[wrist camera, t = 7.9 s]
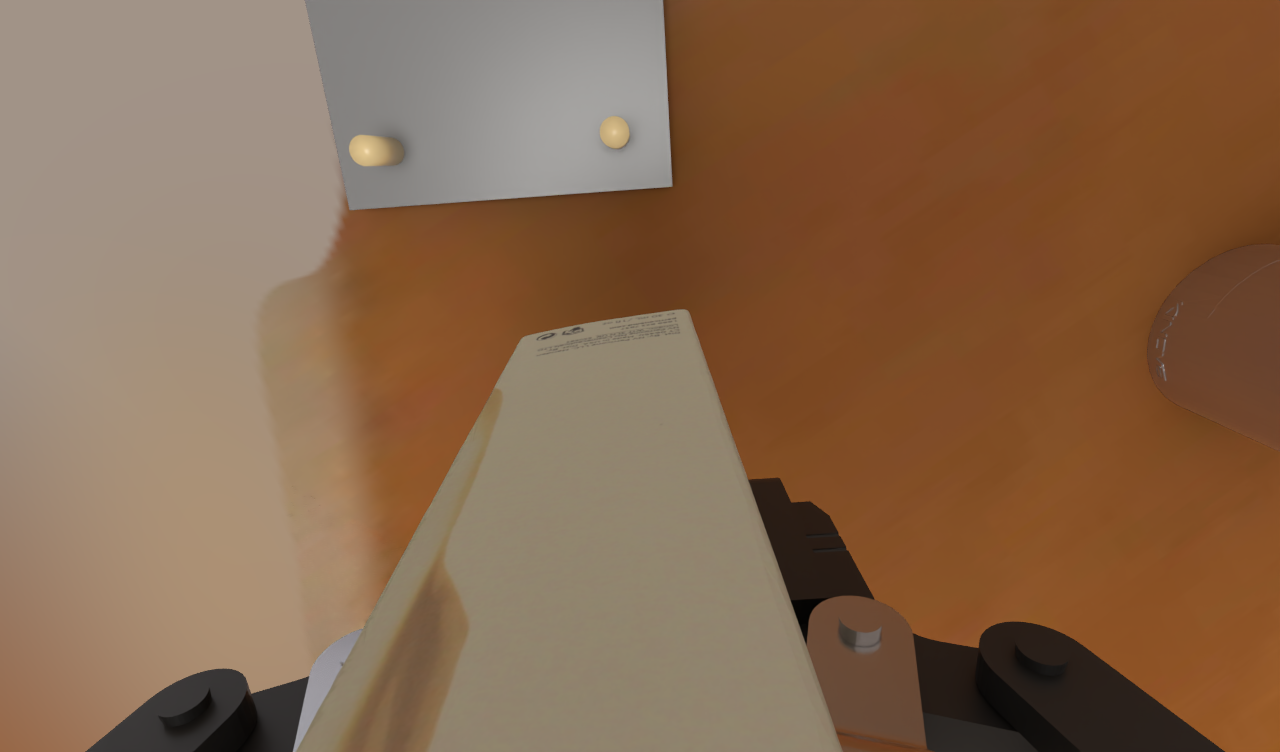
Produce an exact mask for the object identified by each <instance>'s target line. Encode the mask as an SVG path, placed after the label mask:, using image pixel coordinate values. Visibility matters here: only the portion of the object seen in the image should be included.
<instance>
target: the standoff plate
mask: <svg viewBox="0 0 1280 752" xmlns="http://www.w3.org/2000/svg"><path fill="white" fill-rule="evenodd" d="M305 2H306V7H307V12H308V17H309V21H310V26H311V31H312V35H313V40H314V45H315V49H316V54H317V58H318V63H319V68H320V73H321V77H322V82H323V87H324V91H325V96H326V101H327V105H328V110H329V114H330V119H331V124H332V129H333V134H334V138H335V143H336V148H337V152H338V157H339V162H340V166H341V171H342V176H343V180H344V185H345V190H346V194H347V199H348V204H349V208H350V210H358V209H372V208H386V207H399V206H413V205H427V204H441V203H454V202H468V201H482V200H496V199H509V198H523V197H537V196H551V195H564V194H578V193H592V192H606V191H619V190H633V189H647V188H661V187H672V170H671V150H670V130H669V110H668V90H667V70H666V50H665V30H664V10H663V0H305Z"/></svg>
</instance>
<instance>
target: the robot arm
mask: <svg viewBox="0 0 1280 752" xmlns="http://www.w3.org/2000/svg"><path fill="white" fill-rule="evenodd" d="M1147 359H1148V365H1149V371H1150V373H1151V376H1152V379H1153V381H1154V383H1155V385H1156V386H1157V388H1158V389H1159V390H1160V391H1161V393H1162V394H1163V395H1164V396H1165V397H1166V398H1168V399H1169V400H1170V401H1172V402H1173V403H1175V404H1176V405H1178V406H1181V407H1183V408H1185V409H1187V410H1189V411H1192V412H1194V413H1196V414H1198V415H1201V416H1203V417H1205V418H1207V419H1209V420H1212V421H1214V422H1216V423H1218V424H1220V425H1222V426H1224V427H1226V428H1229V429H1231V430H1233V431H1235V432H1238V433H1240V434H1242V435H1244V436H1246V437H1249V438H1251V439H1253V440H1255V441H1257V442H1260V443H1262V444H1264V445H1266V446H1269V447H1271V448H1273V449H1275V450H1277V451H1280V245H1274V244H1256V245H1247V246H1243V247H1240V248H1236V249H1232V250H1229V251H1227V252H1224V253H1222V254H1220V255H1218V256H1216V257H1214V258H1212V259H1210V260H1208V261H1207V262H1205V263H1204V264H1202V265H1201V266H1199V267H1198V268H1196V269H1195V270H1193V271H1192V272H1191V273H1190V274H1189V275H1188V276H1187V277H1186V278H1185V279H1184V280H1182V281H1181V282H1180V283H1179V284H1178V285H1177V286H1176V287H1175V289H1174V290H1173V291H1172V292H1171V294H1170V295H1169V296H1168V298H1167V299H1166V300H1165V301H1164V303H1163V305H1162V306H1161V308H1160V310H1159V312H1158V314H1157V316H1156V318H1155V320H1154V323H1153V325H1152V329H1151V332H1150V335H1149V340H1148V349H1147ZM748 481H749V484H750V487H751V490H752V493H753V495H754V498H755V501H756V504H757V507H758V510H759V513H760V515H761V518H762V521H763V524H764V527H765V529H766V532H767V535H768V538H769V541H770V543H771V546H772V549H773V552H774V555H775V557H776V560H777V563H778V566H779V569H780V572H781V574H782V577H783V580H784V583H785V586H786V589H787V592H788V595H789V598H790V600H791V603H792V606H793V609H794V612H795V615H796V618H797V621H798V623H799V626H800V629H801V632H802V635H803V638H804V641H805V643H806V646H807V649H808V652H809V655H810V658H811V661H812V664H813V667H814V669H815V672H816V675H817V678H818V681H819V684H820V687H821V690H822V693H823V696H824V699H825V701H826V704H827V707H828V710H829V713H830V716H831V719H832V722H833V725H834V728H835V731H836V734H837V737H838V740H839V743H840V745H841V748H842V751H843V752H1225V751H1223V750H1222V749H1220V748H1219V747H1218V746H1216V745H1215V744H1214V743H1212V742H1211V741H1210V740H1208V739H1207V738H1206V737H1204V736H1203V735H1202V734H1200V733H1199V732H1198V731H1196V730H1195V729H1194V728H1192V727H1191V726H1190V725H1188V724H1187V723H1186V722H1184V721H1183V720H1182V719H1180V718H1179V717H1178V716H1176V715H1175V714H1174V713H1172V712H1171V711H1170V710H1168V709H1167V708H1166V707H1164V706H1163V705H1162V704H1160V703H1159V702H1158V701H1156V700H1155V699H1154V698H1152V697H1151V696H1150V695H1148V694H1147V693H1146V692H1144V691H1143V690H1142V689H1140V688H1139V687H1138V686H1136V685H1135V684H1134V683H1132V682H1131V681H1129V680H1128V679H1127V678H1125V677H1124V676H1123V675H1121V674H1120V673H1119V672H1117V671H1116V670H1115V669H1113V668H1112V667H1111V666H1109V665H1108V664H1107V663H1105V662H1104V661H1103V660H1101V659H1100V658H1099V657H1097V656H1096V655H1095V654H1093V653H1092V652H1091V651H1089V650H1088V649H1087V648H1085V647H1084V646H1083V645H1081V644H1080V643H1078V642H1077V641H1075V640H1074V639H1072V638H1070V637H1068V636H1066V635H1065V634H1063V633H1060V632H1058V631H1056V630H1053V629H1050V628H1047V627H1044V626H1041V625H1037V624H1032V623H1026V622H1004V623H999V624H996V625H993V626H991V627H989V628H988V629H986V630H985V631H984V633H983V634H982V635H981V638H980V642H979V648H974V647H968V646H962V645H956V644H951V643H945V642H939V641H935V640H930V639H927V638H924V637H921V636H918V635H916V634H913V633H912V630H911V628H910V626H909V624H908V622H907V621H906V620H905V619H904V617H902V616H901V615H900V614H899V613H898V612H897V611H895V610H894V609H893V608H891V607H889V606H887V605H886V604H884V603H881V602H879V601H876V600H875V599H874V597H873V595H872V594H871V592H870V590H869V588H868V586H867V584H866V583H865V581H864V579H863V577H862V575H861V573H860V572H859V570H858V568H857V566H856V564H855V562H854V561H853V559H852V557H851V555H850V553H849V551H847V550H846V546H845V544H844V542H843V540H842V539H841V537H840V536H839V535H838V531H837V529H836V528H835V526H834V524H833V522H832V520H831V518H830V516H829V515H828V514H826V513H825V512H824V511H822V510H821V509H819V508H818V507H817V506H815V505H814V504H813V503H811V502H794V503H791V501H790V499H789V497H788V495H787V493H786V490H785V488H784V486H783V484H782V482H781V480H780V478H767V479H752V480H748ZM362 630H363V629H359V630H357V631H354V632H352V633H350V634H348V635H346V636H344V637H342V638H340V639H339V640H337V641H336V642H334V643H333V644H332V645H330V646H329V647H328V648H327V649H326V650H325V651H324V652H323V653H322V654H321V655H320V656H319V657H318V658H317V660H316V661H315V663H314V665H313V666H312V669H311V672H310V676H308V677H306V678H303V679H300V680H297V681H294V682H290V683H287V684H283V685H280V686H276V687H273V688H270V689H266V690H263V691H259V692H256V693H253V694H251V692H250V689H249V686H248V683H247V681H246V678H245V677H244V676H243V674H242V673H240V672H238V671H236V670H232V669H214V670H208V671H204V672H200V673H197V674H194V675H191V676H189V677H186V678H184V679H182V680H180V681H177V682H175V683H174V684H172V685H170V686H168V687H166V688H165V689H163V690H162V691H160V692H159V693H157V694H156V695H155V696H153V697H152V698H150V699H149V700H148V701H147V702H146V703H144V704H143V705H142V706H141V707H139V708H138V709H137V710H136V711H135V712H133V713H132V714H131V715H130V716H128V717H127V718H126V719H125V720H123V721H122V722H121V723H120V724H119V725H118V726H116V727H115V728H114V729H113V730H111V731H110V732H109V733H108V734H107V735H105V736H104V737H103V738H102V739H100V740H99V741H98V742H97V743H96V744H94V745H93V746H92V747H91V748H90V749H88V750H87V751H86V752H296V750H297V749H298V747H299V745H300V743H301V741H302V739H303V738H304V736H305V734H306V732H307V730H308V728H309V726H310V724H311V722H312V720H313V718H314V717H315V715H316V713H317V711H318V709H319V707H320V706H321V704H322V702H323V700H324V699H325V697H326V695H327V694H328V692H329V690H330V688H331V686H332V684H333V682H334V680H335V678H336V676H337V674H338V673H339V671H340V669H341V668H342V666H343V664H344V662H345V661H346V659H347V657H348V655H349V654H350V652H351V650H352V648H353V646H354V644H355V643H356V641H357V639H358V637H359V635H360V633H361V632H362Z"/></svg>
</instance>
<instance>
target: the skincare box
mask: <svg viewBox="0 0 1280 752" xmlns="http://www.w3.org/2000/svg"><path fill="white" fill-rule="evenodd" d="M296 752H843V751H842V748H841V745H840V743H839V740H838V737H837V734H836V731H835V728H834V725H833V722H832V719H831V716H830V713H829V710H828V707H827V704H826V701H825V699H824V696H823V693H822V690H821V687H820V684H819V681H818V678H817V675H816V672H815V669H814V667H813V664H812V661H811V658H810V655H809V652H808V649H807V646H806V643H805V641H804V638H803V635H802V632H801V629H800V626H799V623H798V621H797V618H796V615H795V612H794V609H793V606H792V603H791V600H790V598H789V595H788V592H787V589H786V586H785V583H784V580H783V577H782V574H781V572H780V569H779V566H778V563H777V560H776V557H775V555H774V552H773V549H772V546H771V543H770V541H769V538H768V535H767V532H766V529H765V527H764V524H763V521H762V518H761V515H760V513H759V510H758V507H757V504H756V501H755V498H754V495H753V493H752V490H751V487H750V484H749V481H748V478H747V475H746V473H745V470H744V467H743V464H742V462H741V459H740V456H739V453H738V451H737V448H736V445H735V442H734V440H733V437H732V434H731V431H730V429H729V426H728V423H727V420H726V417H725V414H724V411H723V409H722V406H721V403H720V400H719V397H718V394H717V391H716V388H715V385H714V382H713V379H712V377H711V374H710V371H709V368H708V366H707V363H706V360H705V357H704V354H703V351H702V348H701V345H700V342H699V339H698V336H697V333H696V331H695V328H694V325H693V322H692V319H691V316H690V313H689V311H687V310H684V309H681V310H672V311H665V312H658V313H651V314H644V315H637V316H631V317H624V318H617V319H611V320H604V321H598V322H592V323H586V324H581V325H575V326H570V327H565V328H560V329H556V330H551V331H546V332H541V333H537V334H532V335H528V336H525V337H523V338H522V339H521V340H520V342H519V344H518V345H517V347H516V349H515V351H514V353H513V355H512V356H511V358H510V360H509V362H508V364H507V365H506V367H505V369H504V371H503V373H502V374H501V376H500V378H499V380H498V382H497V383H496V385H495V387H494V389H493V391H492V393H491V395H490V397H489V399H488V400H487V402H486V404H485V406H484V408H483V410H482V412H481V414H480V415H479V417H478V419H477V421H476V422H475V424H474V427H473V428H472V430H471V431H470V433H469V435H468V437H467V439H466V441H465V442H464V444H463V446H462V447H461V449H460V451H459V453H458V455H457V456H456V458H455V460H454V462H453V464H452V466H451V468H450V470H449V472H448V473H447V475H446V477H445V479H444V481H443V483H442V485H441V486H440V488H439V490H438V492H437V494H436V496H435V497H434V499H433V501H432V503H431V505H430V507H429V508H428V510H427V511H426V513H425V515H424V517H423V518H422V520H421V522H420V524H419V526H418V528H417V530H416V531H415V533H414V535H413V537H412V539H411V541H410V543H409V545H408V546H407V548H406V550H405V552H404V554H403V556H402V558H401V559H400V561H399V563H398V565H397V567H396V569H395V571H394V572H393V574H392V576H391V578H390V580H389V582H388V584H387V585H386V587H385V589H384V591H383V593H382V595H381V597H380V598H379V600H378V602H377V604H376V606H375V608H374V610H373V611H372V613H371V615H370V617H369V619H368V620H367V622H366V624H365V626H364V628H363V630H362V632H361V633H360V635H359V637H358V639H357V641H356V643H355V644H354V646H353V648H352V650H351V652H350V654H349V655H348V657H347V659H346V661H345V662H344V664H343V666H342V668H341V669H340V671H339V673H338V674H337V676H336V678H335V680H334V682H333V684H332V686H331V688H330V690H329V692H328V694H327V695H326V697H325V699H324V700H323V702H322V704H321V706H320V707H319V709H318V711H317V713H316V715H315V717H314V718H313V720H312V722H311V724H310V726H309V728H308V730H307V732H306V734H305V736H304V738H303V739H302V741H301V743H300V745H299V747H298V749H297V750H296Z"/></svg>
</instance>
